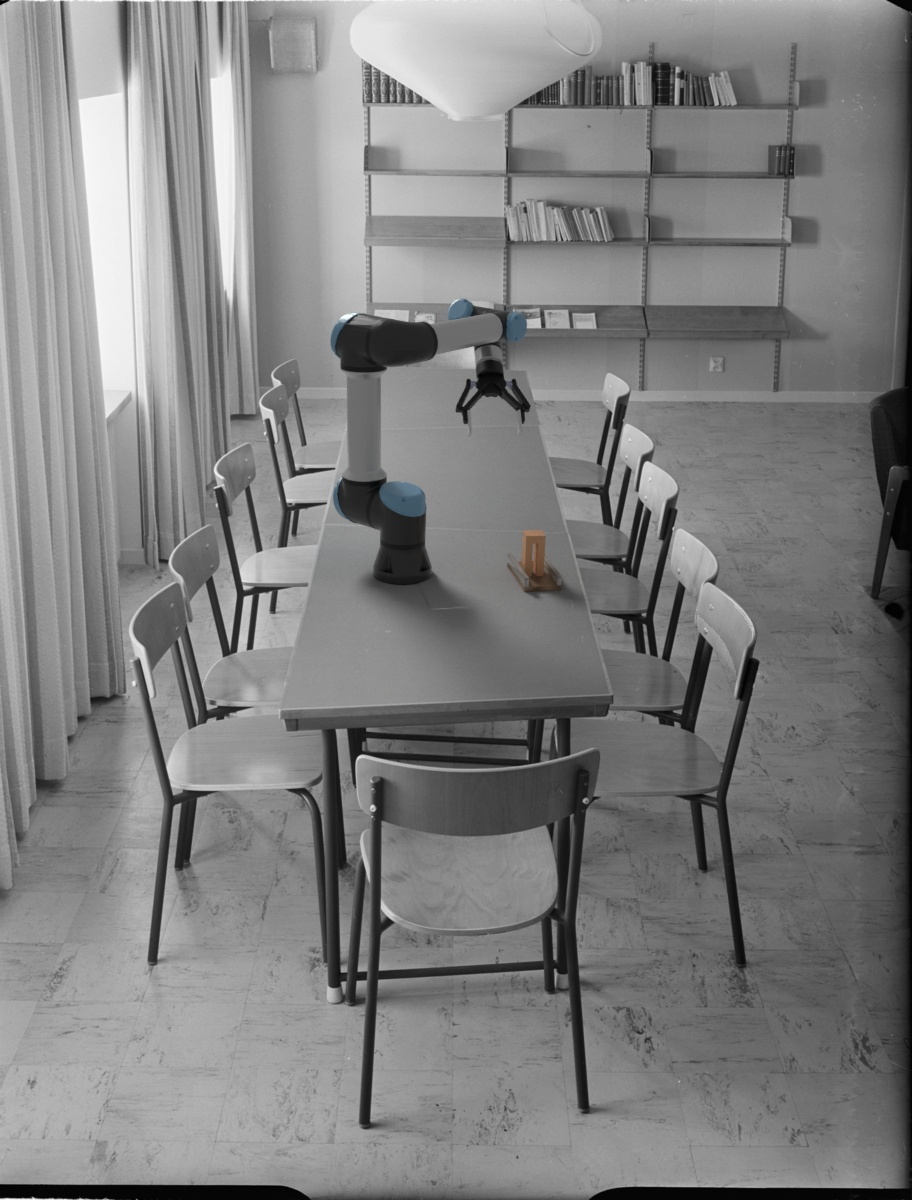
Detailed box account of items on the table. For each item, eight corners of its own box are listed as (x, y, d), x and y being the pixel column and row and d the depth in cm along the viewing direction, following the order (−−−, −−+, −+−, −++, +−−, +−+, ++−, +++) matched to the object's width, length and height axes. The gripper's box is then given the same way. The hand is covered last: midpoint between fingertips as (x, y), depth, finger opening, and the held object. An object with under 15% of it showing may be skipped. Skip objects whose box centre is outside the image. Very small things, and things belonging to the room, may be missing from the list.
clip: (524, 576, 306) (526, 536, 302) (521, 570, 310) (522, 530, 306) (543, 576, 306) (545, 535, 302) (539, 569, 310) (542, 530, 306)
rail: (524, 591, 299) (525, 578, 298) (507, 566, 316) (507, 553, 314) (560, 589, 301) (561, 576, 300) (541, 564, 318) (542, 551, 316)
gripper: (531, 373, 331) (538, 440, 323) (442, 373, 329) (447, 441, 321) (536, 358, 324) (543, 426, 316) (445, 358, 322) (450, 426, 314)
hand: (495, 433), depth 319 cm, fingers open, 13 cm apart
